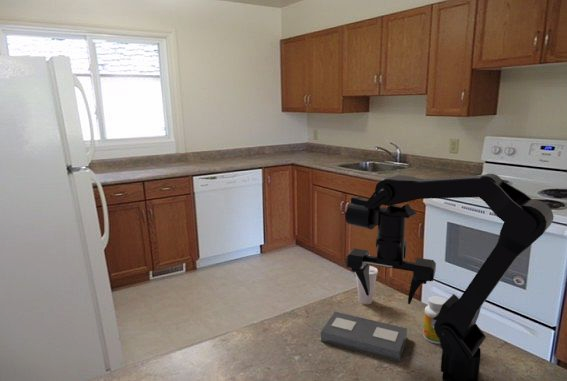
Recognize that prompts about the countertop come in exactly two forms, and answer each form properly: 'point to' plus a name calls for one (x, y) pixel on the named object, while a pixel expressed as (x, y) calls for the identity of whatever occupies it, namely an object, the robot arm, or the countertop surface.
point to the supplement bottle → (429, 314)
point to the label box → (365, 336)
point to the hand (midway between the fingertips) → (388, 299)
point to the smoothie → (372, 277)
